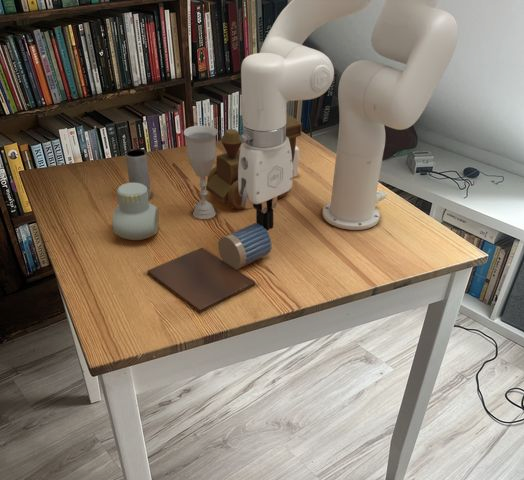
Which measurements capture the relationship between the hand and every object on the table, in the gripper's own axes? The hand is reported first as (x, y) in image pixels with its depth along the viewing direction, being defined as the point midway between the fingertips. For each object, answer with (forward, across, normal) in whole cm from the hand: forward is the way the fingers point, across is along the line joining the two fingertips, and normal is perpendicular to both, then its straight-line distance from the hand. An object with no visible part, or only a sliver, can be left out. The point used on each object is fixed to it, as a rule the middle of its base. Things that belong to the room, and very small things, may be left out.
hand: (264, 226), depth 110 cm
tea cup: (+5, -6, 0) cm, 8 cm away
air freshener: (+5, -16, +22) cm, 28 cm away
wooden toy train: (+6, +14, +20) cm, 25 cm away
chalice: (+6, 0, +20) cm, 21 cm away
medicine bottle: (+7, +28, +25) cm, 38 cm away
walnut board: (+5, -16, 0) cm, 17 cm away
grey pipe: (+5, -6, +36) cm, 37 cm away
